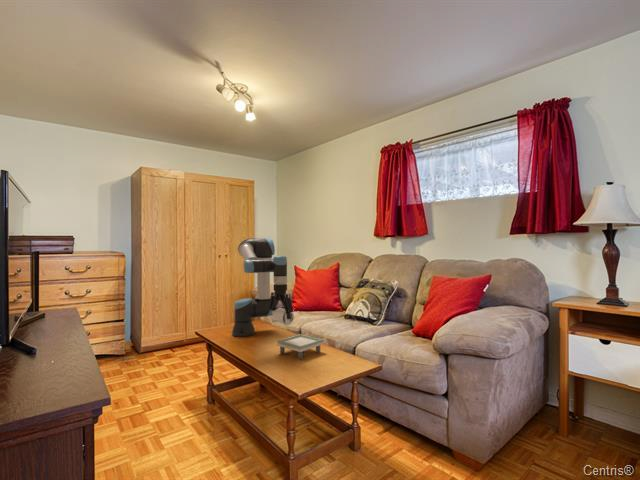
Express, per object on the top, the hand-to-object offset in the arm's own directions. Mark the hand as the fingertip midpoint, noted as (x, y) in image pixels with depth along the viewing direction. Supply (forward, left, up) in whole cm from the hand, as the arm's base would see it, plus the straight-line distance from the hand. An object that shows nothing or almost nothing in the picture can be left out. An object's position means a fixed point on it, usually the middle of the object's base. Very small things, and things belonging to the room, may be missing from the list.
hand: (280, 323), depth 190 cm
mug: (0, 0, -1) cm, 1 cm away
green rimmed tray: (+8, +7, -16) cm, 20 cm away
